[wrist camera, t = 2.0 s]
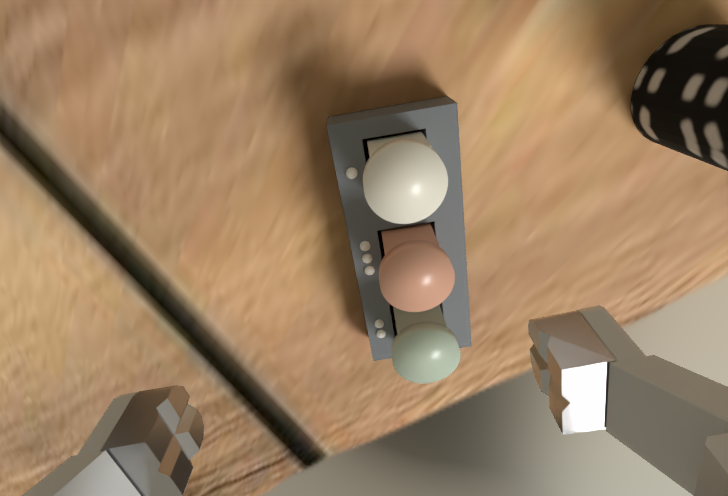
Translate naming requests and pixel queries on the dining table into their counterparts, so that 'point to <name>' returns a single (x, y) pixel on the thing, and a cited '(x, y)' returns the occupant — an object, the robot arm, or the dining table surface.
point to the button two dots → (424, 346)
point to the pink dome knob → (414, 269)
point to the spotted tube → (687, 95)
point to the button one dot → (404, 178)
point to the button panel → (363, 223)
